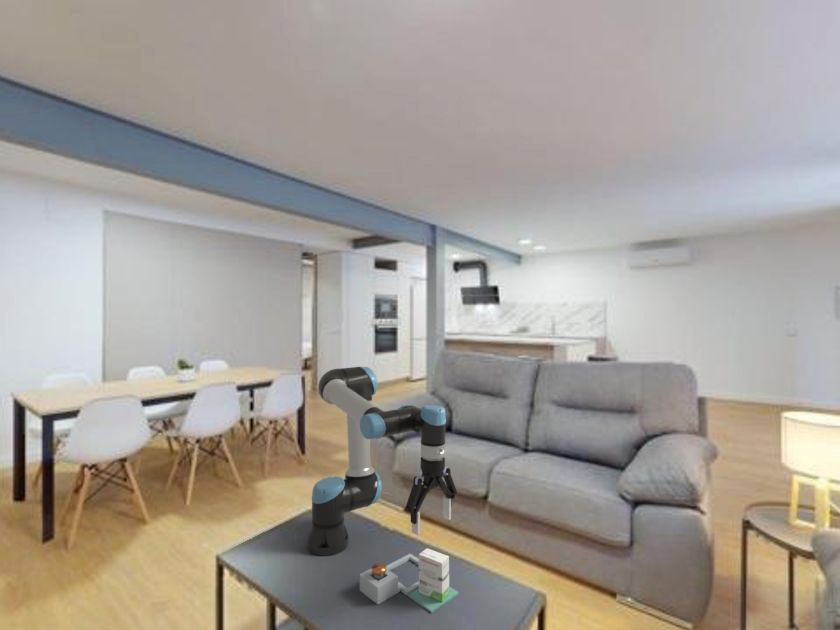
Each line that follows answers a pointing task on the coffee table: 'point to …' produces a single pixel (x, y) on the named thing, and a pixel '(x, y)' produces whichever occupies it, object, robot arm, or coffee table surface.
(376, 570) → the plunger
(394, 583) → the housing
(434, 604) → the mat
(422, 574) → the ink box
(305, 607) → the coffee table surface
